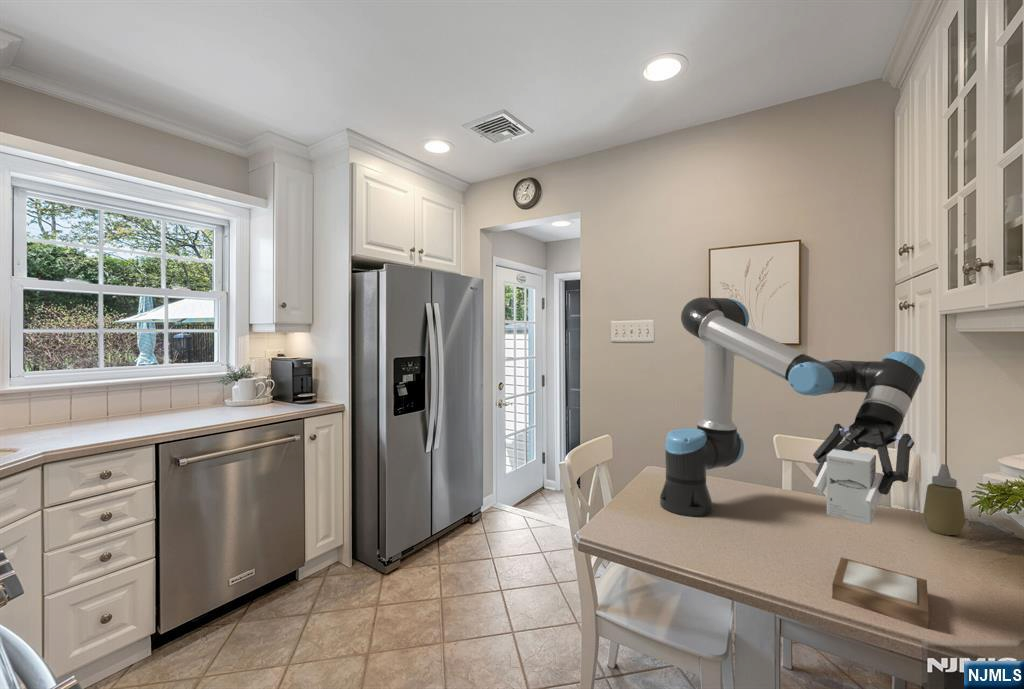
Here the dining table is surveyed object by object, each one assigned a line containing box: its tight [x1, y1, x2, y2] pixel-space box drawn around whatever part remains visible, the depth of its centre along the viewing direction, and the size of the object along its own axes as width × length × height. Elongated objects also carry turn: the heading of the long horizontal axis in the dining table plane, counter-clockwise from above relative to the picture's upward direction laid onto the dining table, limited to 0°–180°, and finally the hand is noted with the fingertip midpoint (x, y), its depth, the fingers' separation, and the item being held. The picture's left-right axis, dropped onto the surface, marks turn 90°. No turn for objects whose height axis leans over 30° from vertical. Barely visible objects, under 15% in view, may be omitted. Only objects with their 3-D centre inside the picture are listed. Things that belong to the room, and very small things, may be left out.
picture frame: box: [831, 556, 930, 629], centre depth 89 cm, size 14×14×3 cm
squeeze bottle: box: [922, 463, 966, 536], centre depth 117 cm, size 8×8×18 cm
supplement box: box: [826, 449, 877, 526], centre depth 90 cm, size 7×7×13 cm
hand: (842, 497), depth 89 cm, fingers closed on supplement box, 9 cm apart
